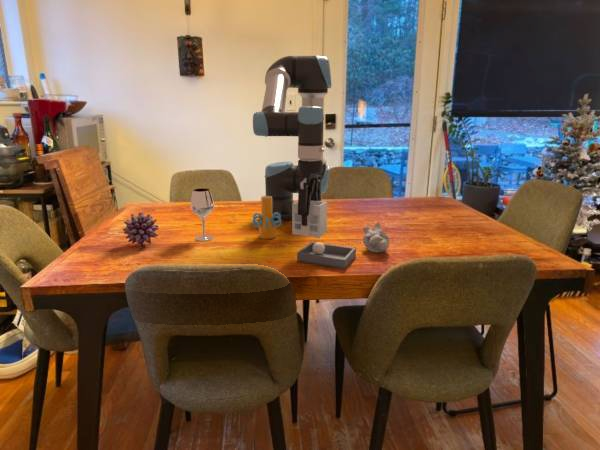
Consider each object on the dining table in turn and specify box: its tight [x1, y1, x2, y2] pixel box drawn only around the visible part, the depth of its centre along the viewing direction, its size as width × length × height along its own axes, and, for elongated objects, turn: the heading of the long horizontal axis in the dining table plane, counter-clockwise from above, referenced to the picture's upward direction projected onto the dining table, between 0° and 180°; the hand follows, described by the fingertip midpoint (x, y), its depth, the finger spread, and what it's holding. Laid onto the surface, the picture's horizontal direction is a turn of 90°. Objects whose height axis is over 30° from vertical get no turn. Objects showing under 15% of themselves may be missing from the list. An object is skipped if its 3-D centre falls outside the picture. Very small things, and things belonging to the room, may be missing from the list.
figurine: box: [362, 221, 390, 254], centre depth 143 cm, size 8×10×12 cm
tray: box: [296, 241, 357, 270], centre depth 136 cm, size 16×12×3 cm
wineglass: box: [190, 187, 215, 242], centre depth 154 cm, size 8×8×18 cm
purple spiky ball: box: [122, 211, 160, 247], centre depth 147 cm, size 12×12×12 cm
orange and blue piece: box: [251, 195, 282, 240], centre depth 157 cm, size 12×10×15 cm
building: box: [291, 200, 328, 239], centre depth 135 cm, size 9×6×10 cm
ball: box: [312, 241, 325, 255], centre depth 139 cm, size 4×4×4 cm
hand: (309, 231), depth 137 cm, fingers closed on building, 6 cm apart
